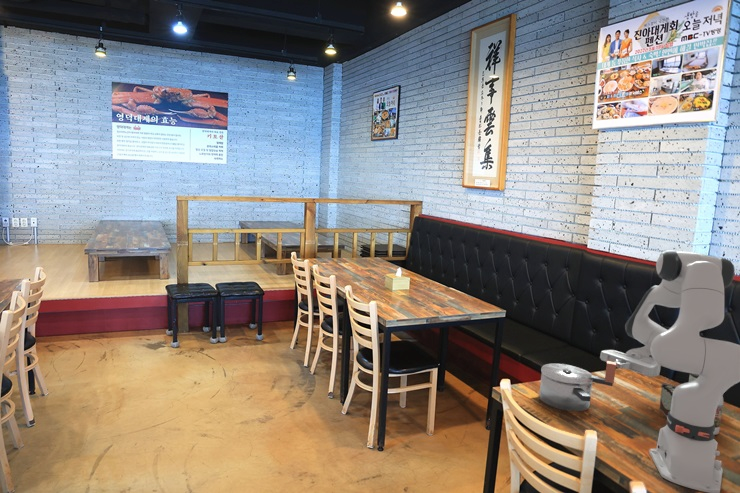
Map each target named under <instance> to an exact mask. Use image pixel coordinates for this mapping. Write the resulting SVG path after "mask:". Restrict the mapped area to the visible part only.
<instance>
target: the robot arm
mask: <svg viewBox="0 0 740 493" xmlns="http://www.w3.org/2000/svg"><path fill="white" fill-rule="evenodd" d="M655 269H656V274H657V275H658V277H659V278H660V279H661V282H660V284H659V285H656V284H655V285H653V286H651V287H650V288H649V289H648V290H647V291H646V292H645V294H644V295H643V297H642V298H641V300H640V301H639V303H638V305H637V306H636V308H635V310H634V311H633V313H632V314H631V316H630V317H629V318H628V319H627V321H626V322H625V325H624V329H625V333H626V334H627V336H629V337H630V338H632V339H634V340H637V341H638V342H639V343H641V344H643V345H644V346H641V347H637V348H631V349H629V350H627V351H626V352H625V353H624V352H622V351H618V350H615V349H604V350H601V351H600V356H599V359H600V360H601V361H603V362H606V363H607V361H611V362H616V369H617V368H618V369H621V370H622V369H624V370H629V371H631V372H633V373H637V374H640V375H643V376H646V377H648V378H649V377H650V378H654V377H659V376H660V372H661V367H664V368H667V369H670V370H672V371H677V372H681V373H688V374H690V373H692V374H698V375H699V377H698V378H697V379H696V380H694V381H692V382H689V381H688V382H684V383H680V384H679V385H676V386H677V387H676V388H675V389H674V391H673V395H672V402H671V409H670V411H669V412H668V415H667V417H666V425H665V426H663V427H661V428H659V431H658V432H659V433H658V436H657V437H658V439H657V443H656V444H657V445H656V447H655V448H649V451H648V453H649V455H650V458H651V459H652V462H653V463H654V465H655V466H656V469H657V470H658V472H659V474H660V476H661V477H662V478H664V479H665V480H667V481H669V482H671V483H673V484H676V485H679V486H682V487H685V488H689V489H691V490H695V491H700V492H704V493H721V487H722V479H723V472H724V470H723V468H722V464H723V463H722V460H719V459H716V457H719V456H720V454H721V451H719V450H717V449H718V444H719V443H718V442H717V441H716V439H715V435H714V434H715V423H714V419H715V414H716V410H717V406H718V403H719V400H720V398H721V396H722V395H723V396H724V393H725V392H727V391H728V390H729V389H730V388H731V387H733V386H735V385H736V384H738V383H740V344H737V343H734V342H731V341H727V340H721V339H720V340H719V339H713V338H708V337H702V336H701V335H700V332H702V331H705V330H708V329H709V330H710V329H713V328H715V327H718V326H720V325H721V324H722V323H723V321H724V319H725V289H726V288H728V287H730V285H732V282H733V281H734V278H735V266H734V264H733V262H732V261H731V260H729V259H727V258H724V257H720V256H718V257H716V256H711V255H707V254H703V253H698V252H695V251H694V252H693V251H677V250H675V249H674V250H673V249H672V250H671V249H670V250H668V249H667V250H664V251H663V252H661V253H660V254H659V257H658V258H657V261H656V262H655ZM655 305H657V306H662V307H666V308H673V309H674V308H675V309H676V308H677V309H678V308H679V313H678V317H677V319H676V320H675V322H674V324H672V326H671V327H669V328H668V329H667V328H665V327H663V326H661V325H660V324H658V323H657V322H655V321H654V320H652V319H651V318H650V317H649V314H650V312H651V311H652V309H653V308H654V306H655Z"/></svg>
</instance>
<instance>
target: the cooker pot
mask: <svg viewBox="0 0 740 493" xmlns="http://www.w3.org/2000/svg"><path fill="white" fill-rule="evenodd" d="M592 387H593V383H591V384H589V385H570V384H564V383H560V382H557V381H554V380H552V379H549V378H547V377H546V376H544V375H543V374H542V373H541V376H540V385H539V392H538V393H539V394H538V395H539V399H540V400H541V401H542V402H543V403H545V404H546V405H548V406H550V407H552V408H556V409H559V410H562V411H567V412H584V411H587V410H588V409H589V408H590V404H591V397H592Z"/></svg>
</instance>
